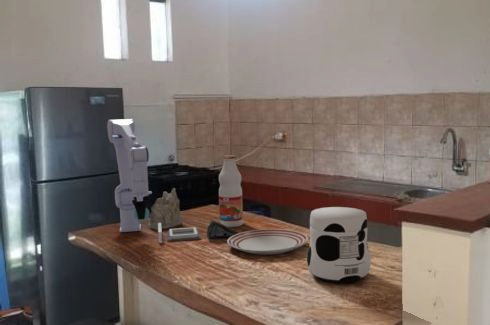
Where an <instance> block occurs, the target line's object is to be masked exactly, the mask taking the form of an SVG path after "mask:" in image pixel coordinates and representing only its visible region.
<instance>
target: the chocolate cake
mask: <svg viewBox="0 0 490 325" xmlns="http://www.w3.org/2000/svg"><path fill="white" fill-rule="evenodd" d="M209 222H210V223H209V224H208V227H207V230H206V238H207V240H208V241H209V242H214V241H215V240H218V241H227V240H228V239H229V238H230V237H231V236H233V235H236V234H238V233H240V232H239V231H238V230H237V229H233V228H232V227H227V226H225V225H223V224H221V223H220V222H218V221H216V220H214V219H211V220H210V221H209ZM215 235H216V236H215ZM215 242H216V241H215Z"/></svg>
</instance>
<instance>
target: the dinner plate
mask: <svg viewBox="0 0 490 325" xmlns="http://www.w3.org/2000/svg"><path fill="white" fill-rule="evenodd" d="M308 241H309V236H308V235H307V234H306V233H303V232H300V231H297V230H292V229H285V228H283V229H282V228H264V229H263V228H261V229H260V228H259V229H251V230H248V231H243V232H239V233H238V234H236V235H233V236H231V237H230V238H229V239H228V240H226V243H227V245H228V246H230V247H231V248H234V249H235V250H238V251H242V252H245V253H248V254H253V255H260V256H262V255H263V256H269V255H270V256H271V255H281V254H285V253H288V252H290V251H293V250H296V249H298V248H300V247H302V246H304V245H305V244H306V243H308Z"/></svg>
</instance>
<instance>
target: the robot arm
mask: <svg viewBox="0 0 490 325" xmlns="http://www.w3.org/2000/svg"><path fill="white" fill-rule="evenodd" d="M135 125H136V124H135V120H134V119H133V118H126V119H125V118H124V119H123V118H122V119H108V120H107V124H106V127H107V128H106V129H107V136H108V140H109V143H111V144H113V146H114V150H115V154H116V162H117V167H118V168H117V169H118V175H119V182H120V184H119V185H117V186H116V187H115V190H114V202H115V206H116V208H118V209H119V214H120V215H119V216H120V227H119V233H127V232H128V233H129V232H139V231H141V230H142V229H141V228H142V223H140V221H138V220H136V219H135V217H134V211H135V209H136V212H137V216H138V219H144V218H145V211H146V208H147V205H148V203H149V197H150V195H152V193H153V192H152V190H151V191H149V178H148V176H149V175H148V162H149V160H150V155H149V154H150V153H149V148H148V146H146V145H143V144H142V142H141V140H140V138H139V137H137V135H135V130H136V126H135Z"/></svg>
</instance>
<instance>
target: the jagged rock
mask: <svg viewBox="0 0 490 325" xmlns="http://www.w3.org/2000/svg"><path fill="white" fill-rule="evenodd" d="M180 202H181V200H180V199H179V198H178V194H177V192H176V188H175V187H174V188H172V189H171V192H169V193H168V192H167V191H163V192H162V197H159V198H158V197H157V198H156V200H155V202H154V203H153V205H152V206H151V208H150V209H151V212H150V213H149V217H150V219H149V221H148V224H147V228H148V229H154V230H158V223H161V229H163V230H164V229H168V228H169V229H170V228H174V227H177V226H180V225H182V224H183V221H182V217H181V209H180ZM181 223H182V224H181Z"/></svg>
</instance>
